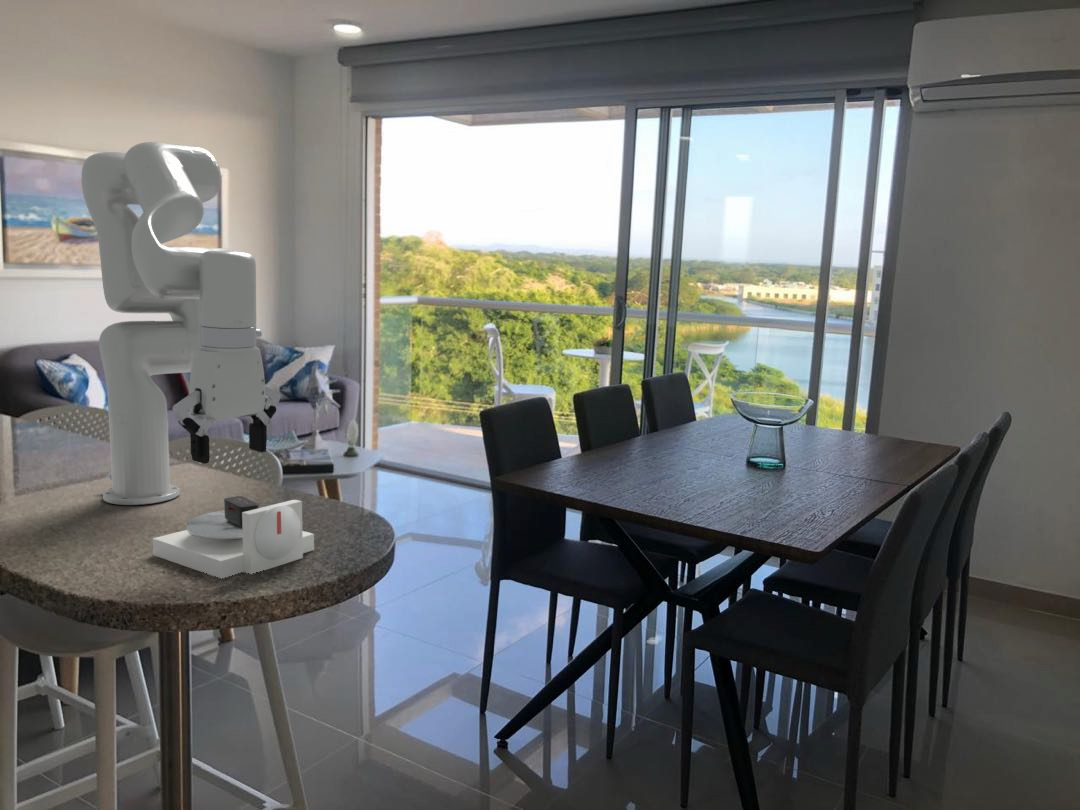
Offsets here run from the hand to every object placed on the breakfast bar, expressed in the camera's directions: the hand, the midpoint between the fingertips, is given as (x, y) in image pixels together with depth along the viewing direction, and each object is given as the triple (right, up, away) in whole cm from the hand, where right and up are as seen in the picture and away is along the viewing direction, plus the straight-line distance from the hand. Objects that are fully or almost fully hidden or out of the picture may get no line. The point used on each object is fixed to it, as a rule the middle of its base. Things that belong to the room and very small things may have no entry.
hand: (230, 456), depth 127 cm
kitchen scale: (+1, -14, +1) cm, 14 cm away
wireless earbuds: (+3, -10, 0) cm, 10 cm away
